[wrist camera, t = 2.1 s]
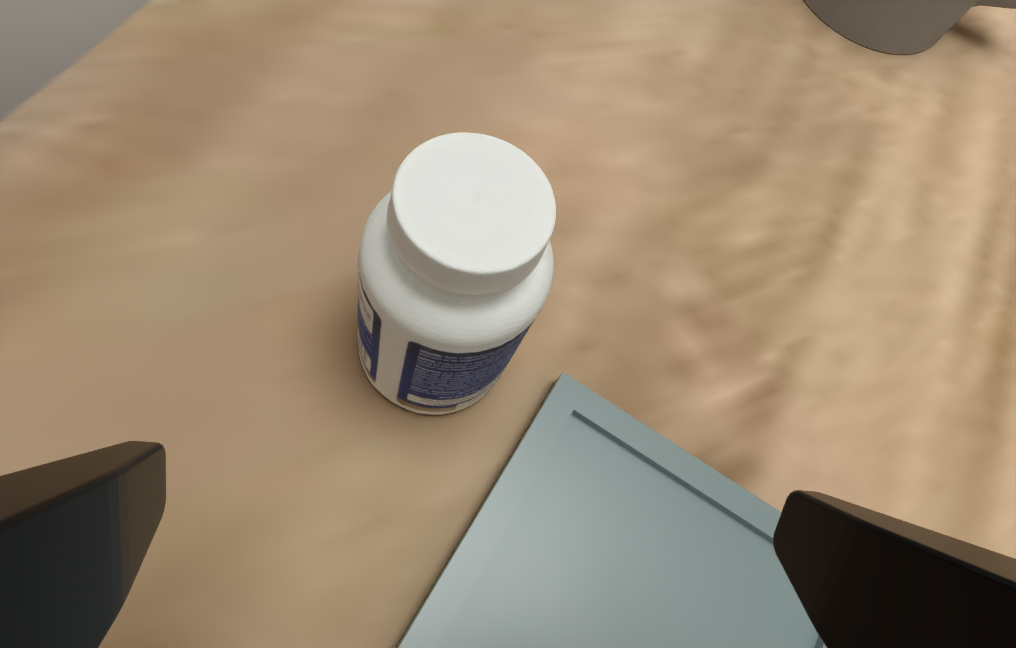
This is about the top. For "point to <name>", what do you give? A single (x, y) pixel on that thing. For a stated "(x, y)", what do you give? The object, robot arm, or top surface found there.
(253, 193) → the top surface
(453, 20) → the top surface
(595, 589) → the tray
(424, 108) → the top surface
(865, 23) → the coffee mug
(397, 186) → the pill bottle
